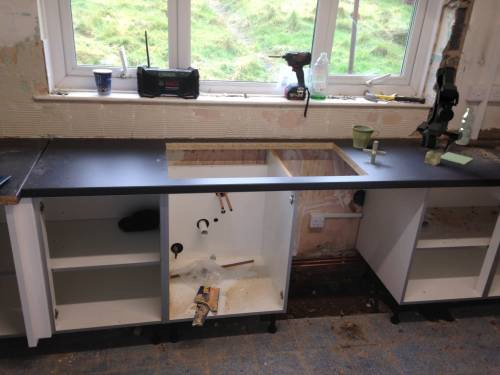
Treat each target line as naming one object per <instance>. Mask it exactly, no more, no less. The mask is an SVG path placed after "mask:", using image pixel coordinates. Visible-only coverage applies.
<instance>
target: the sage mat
mask: <svg viewBox="0 0 500 375" xmlns="http://www.w3.org/2000/svg"><path fill="white" fill-rule="evenodd" d="M441 159H443V160H445V161H450V162H453V163H457V164H461V165H463V166H465V165H466V164H467V163H469V162H471V161H473V160H474V158H472V157H469V156H465V155H461V154H457V153H453V152H451V151H448V152H447V151H446V153H444V154H442V155H441ZM441 159H440V160H441Z"/></svg>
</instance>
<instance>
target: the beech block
mask: <svg viewBox="0 0 500 375" xmlns="http://www.w3.org/2000/svg"><path fill="white" fill-rule="evenodd" d="M425 154H426V155H425V159H424V164H428V165H431V166H437V165H439V164H440V163H441V156H442V155H443V153H442V152H439V151H436V150H429V151H427V152H426V153H425Z"/></svg>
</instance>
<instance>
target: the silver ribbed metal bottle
mask: <svg viewBox="0 0 500 375" xmlns="http://www.w3.org/2000/svg"><path fill="white" fill-rule="evenodd" d="M474 112H475V107H473V106H472V107H471V106H466V108H465V112H463V114H461V116H460V122H459V129H458V130H457V131H458V132H462V134H463V136H462V139H460V140H458V141H454V142H455V144H456V145H459V146H467V145H468V144H469V143H470V137H471V136H470V135H471V130H472V128H473V127H472V126H473V124H474V122H475V120H476V117H475V114H474Z"/></svg>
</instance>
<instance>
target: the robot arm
mask: <svg viewBox="0 0 500 375" xmlns="http://www.w3.org/2000/svg"><path fill="white" fill-rule="evenodd" d="M457 72H458V70H457V69H456V67H455V66H450V65H445V66H443V67H439V68H437V70H436V72H435V78H436V80H435V82H436V83H437V88H436V89H437V90H436V94H435V98H434V99H435V100H434V104H433V108H432V112H431V115H430V116H429V117H428V118H427V119H426V122H425V123H421V124H418V125H417V127H416V132H418V133H419V134H420V135H421V136H422V142H421V144H420V145H419V146H420V147H422V148H423V147H424V148H427V149H435V148H437V147H438V143H439V138H441V137H442V136H446V137H448V138H447V139H446V140H447V142H446V144H445V148H444V151H443V152H444V154H446V153H447V151H448V150H449V149H450V147H452V144H454V142H455V141H458V140H460V139H462V136H463V134H462V132H458V131H459V130H453V131H448V129H449V127H448V126H449V123H450V121H452V120H453V119H454V117H455V112H454V110H453V107H458V105H459V103H460V93H459V91H458V86H457V85H455V79H456V77H457Z"/></svg>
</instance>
